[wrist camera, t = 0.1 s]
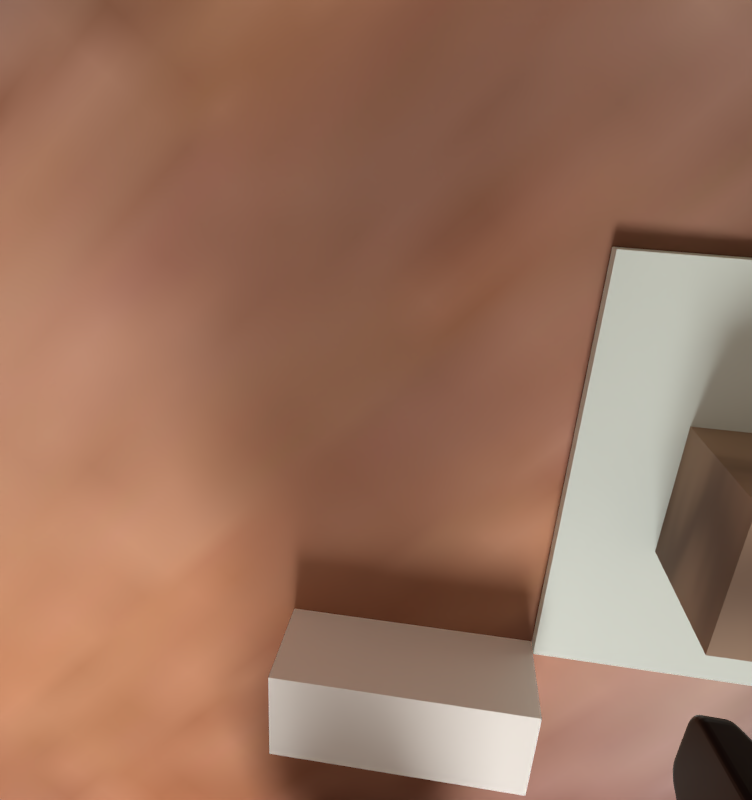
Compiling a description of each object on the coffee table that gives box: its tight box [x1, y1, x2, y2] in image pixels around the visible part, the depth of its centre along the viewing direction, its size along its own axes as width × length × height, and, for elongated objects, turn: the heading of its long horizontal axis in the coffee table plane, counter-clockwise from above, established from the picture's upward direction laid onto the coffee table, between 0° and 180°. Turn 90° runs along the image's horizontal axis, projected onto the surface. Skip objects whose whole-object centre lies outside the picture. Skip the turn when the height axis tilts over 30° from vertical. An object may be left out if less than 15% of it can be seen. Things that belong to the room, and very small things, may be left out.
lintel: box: [268, 608, 542, 796], centre depth 25 cm, size 4×10×4 cm, turn 87°
